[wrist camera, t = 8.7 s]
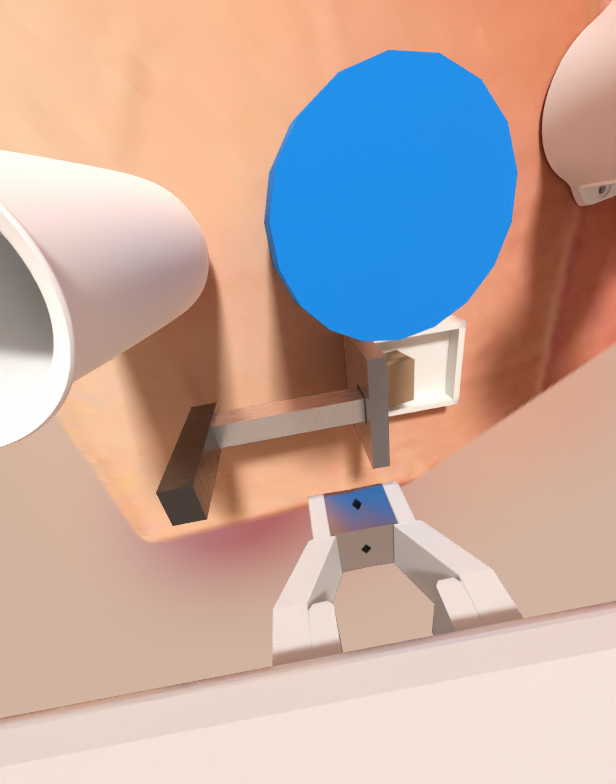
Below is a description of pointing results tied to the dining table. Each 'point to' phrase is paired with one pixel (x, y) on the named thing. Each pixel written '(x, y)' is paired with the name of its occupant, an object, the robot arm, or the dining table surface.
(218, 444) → the shaft
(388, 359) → the block
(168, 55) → the dining table surface
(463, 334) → the tray
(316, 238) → the thermos
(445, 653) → the robot arm
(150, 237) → the vase
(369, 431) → the bearing wall
